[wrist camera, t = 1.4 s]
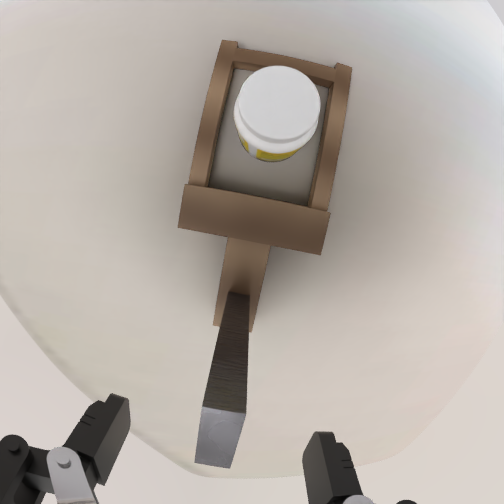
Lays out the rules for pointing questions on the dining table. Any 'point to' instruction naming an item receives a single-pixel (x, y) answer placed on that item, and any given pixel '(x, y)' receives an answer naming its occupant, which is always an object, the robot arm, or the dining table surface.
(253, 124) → the supplement bottle
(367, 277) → the dining table surface
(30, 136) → the dining table surface
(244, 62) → the strip frame
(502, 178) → the dining table surface
